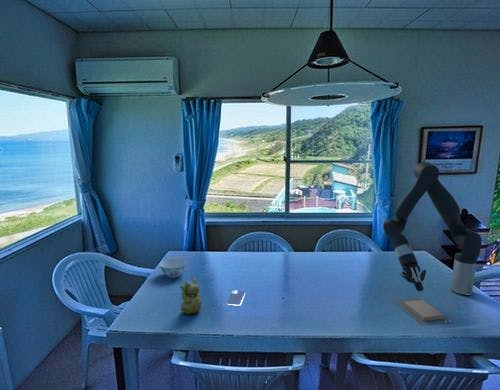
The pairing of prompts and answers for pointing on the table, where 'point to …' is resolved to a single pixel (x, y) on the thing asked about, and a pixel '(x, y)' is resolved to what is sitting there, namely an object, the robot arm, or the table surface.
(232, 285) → the table surface
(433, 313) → the tile
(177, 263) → the chinaware
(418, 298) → the mat
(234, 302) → the mobile phone
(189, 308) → the decorative figurine
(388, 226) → the robot arm
